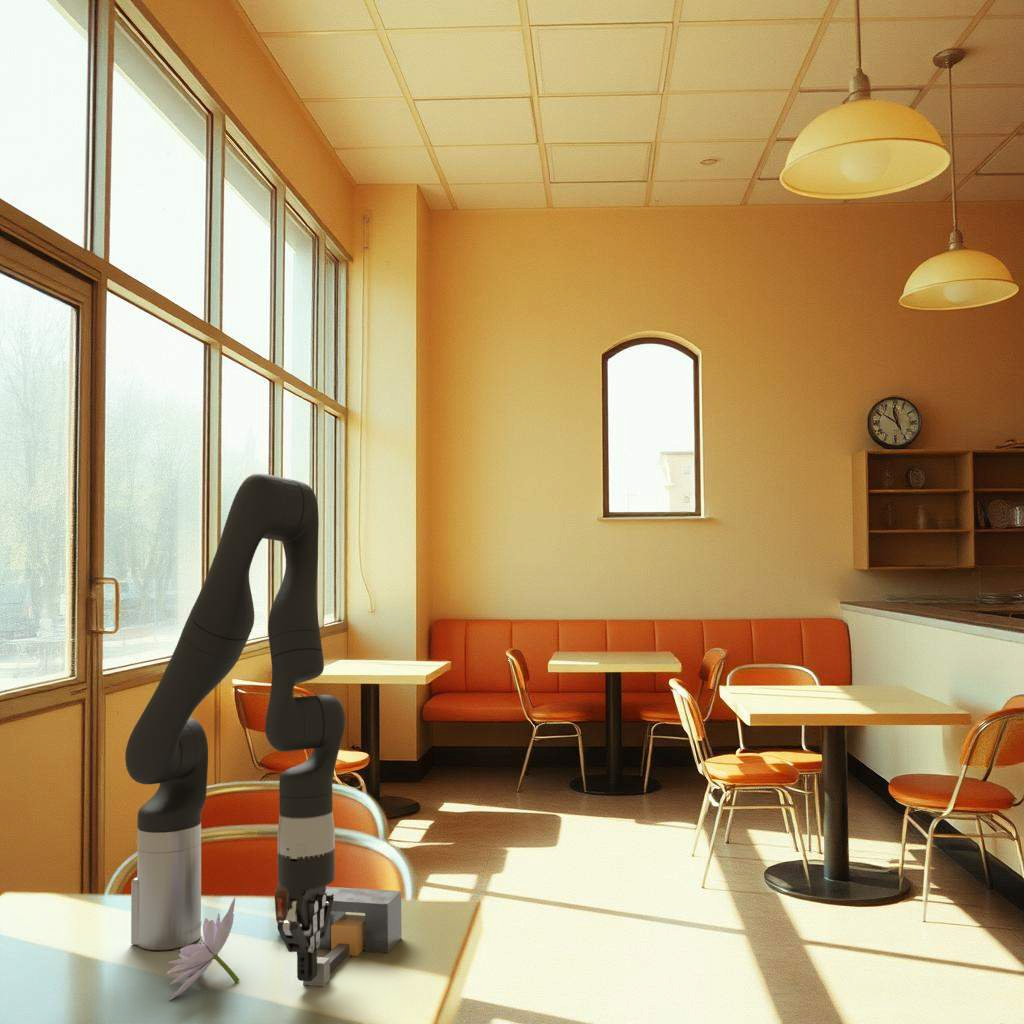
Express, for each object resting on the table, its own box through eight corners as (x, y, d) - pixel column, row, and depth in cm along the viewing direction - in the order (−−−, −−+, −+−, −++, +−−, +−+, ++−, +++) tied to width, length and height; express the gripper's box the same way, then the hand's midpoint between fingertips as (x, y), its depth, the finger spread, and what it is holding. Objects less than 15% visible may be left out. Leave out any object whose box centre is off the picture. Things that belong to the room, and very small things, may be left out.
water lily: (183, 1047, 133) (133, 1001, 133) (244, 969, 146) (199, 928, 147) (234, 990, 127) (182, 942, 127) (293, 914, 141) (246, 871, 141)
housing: (308, 947, 149) (307, 899, 149) (324, 932, 155) (324, 886, 155) (388, 953, 146) (387, 904, 146) (401, 938, 152) (401, 891, 152)
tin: (290, 937, 153) (289, 881, 154) (271, 936, 154) (270, 880, 154) (327, 904, 168) (327, 853, 168) (309, 903, 169) (309, 852, 169)
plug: (299, 984, 136) (299, 954, 136) (344, 941, 151) (344, 914, 151) (327, 986, 135) (327, 956, 135) (369, 943, 150) (369, 915, 150)
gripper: (301, 832, 142) (302, 958, 141) (257, 859, 129) (257, 997, 128) (351, 834, 140) (352, 962, 139) (311, 861, 127) (312, 1002, 126)
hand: (307, 978), depth 134 cm, fingers closed
